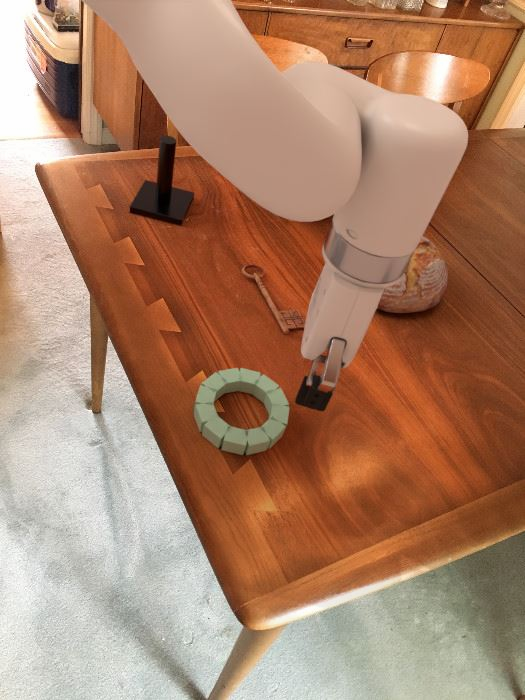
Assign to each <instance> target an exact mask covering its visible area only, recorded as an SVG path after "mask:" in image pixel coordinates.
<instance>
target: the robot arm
mask: <svg viewBox="0 0 525 700" xmlns="http://www.w3.org/2000/svg"><path fill="white" fill-rule="evenodd" d="M81 2H83V3H84V4H85V5H86V6H87V7H88V8H89V9H90V10H91V11H92V12H94V13H95V14H96V15H97V16H98V17H99V18H100V19H101V20H102V21H103V22H105V24H106V25H107V26H108V27H110V29H112V31H114V33H115V34H116V36H117V37H118V38H119V39H120V41H121V42H122V44H123V45H124V47H125V49H126V51H127V53H128V55H129V58H130V59H131V61H132V63H133V65H134V66H135V68H136V70H137V71H138V73H139V75H140V77H141V78H142V80H143V82H144V83H145V84H146V86H147V87H148V89H149V90H150V91H151V93H152V95H153V96H154V98H155V100H156V101H157V103H158V104H159V106H160V107H161V108H162V110H163V112H164V113H165V115H166V117H167V118H168V119H169V121H170V122H171V123H172V125H173V126H174V127H175V129H176V130H177V132H179V134H180V135H181V136H182V137H183V139H184V140H185V142H187V143H188V145H190V147H191V148H192V149H193V150H194V151H195V152H196V154H198V155H199V156H200V157H201V158H202V160H204V161H205V162H206V163H207V164H209V166H211V167H212V168H213V169H214V170H216V172H218V173H219V174H220V175H221V176H223V178H225V179H226V180H227V181H228V182H230V183H231V184H232V185H233V186H234V187H235V188H236V189H238V190H239V191H240V192H241V193H242V194H244V195H245V196H246V197H247V198H249V199H250V200H251V201H253V202H254V203H256V204H257V205H258V206H260V207H261V208H262V209H264V210H266V211H267V212H270V213H272V214H273V215H276V216H278V217H280V218H283V219H286V220H288V221H294V222H298V223H299V222H300V223H313V222H318V221H321V220H324V219H327V218H329V217H331V216H333V217H332V219H331V221H330V224H329V226H328V230H327V232H326V236H325V238H324V241H323V243H322V248H321V254H322V255H321V256H322V258H323V260H324V262H325V263H324V265H323V267H322V270H321V273H320V275H319V277H318V280H317V282H316V285H315V287H314V290H313V292H312V294H311V297H310V300H309V304H308V308H307V313H306V316H305V317H306V318H305V328H303V333H302V340H301V345H300V354H301V356H302V357H303V359H307V360H310V361H311V364H310V368H309V371H308V374H307V375H304V377H303V378H302V381H301V383H300V387H299V389H298V391H297V393H296V396H295V400H294V401H295V402H294V403H295V405H297V406H301V407H304V408H307V409H311V410H315V411H319V412H325V411H326V409H327V407H328V405H329V403H330V401H331V398H332V396H333V394H334V392H335V390H336V388H337V383H338V380H339V377H340V374H341V371H342V370H343V369H346V368H348V367H349V366H350V365H351V363H352V362H353V360H354V358H355V357H356V355H357V353H358V351H359V348H360V346H361V344H362V342H363V340H364V338H365V336H366V334H367V331H368V329H369V327H370V324H371V322H372V320H373V318H374V315H375V313H376V311H377V310H378V309H377V308H378V304H379V301H380V299H381V296H382V294H383V291H384V289H385V288H386V287H390V286H393V285H395V284H396V283H398V282H399V280H400V279H401V277H402V275H403V273H404V272H405V270H406V268H407V266H408V264H409V262H410V260H411V258H412V256H413V254H414V252H415V250H416V247H417V246H418V244H419V242H420V240H421V238H422V236H424V234H425V233H426V230H427V228H428V226H429V224H430V222H431V220H432V218H433V216H434V214H435V212H436V210H437V209H438V206H439V204H440V203H441V200H442V198H443V196H444V195H445V193H446V190H447V189H448V187H449V185H450V183H451V181H452V179H453V177H454V175H455V173H456V171H457V169H458V167H459V165H460V163H461V161H462V159H463V156H464V154H465V152H466V150H467V147H468V144H469V143H468V142H469V132H468V127H467V125H466V124H465V122H464V119H462V117H460V115H459V114H457V113H456V112H455V111H454V110H452V109H451V108H450V107H448V106H446V105H444V104H442V103H440V102H439V101H436V100H434V99H431V98H428V97H425V96H422V95H416V94H409V93H395V92H393V91H390V90H388V89H385V88H383V87H381V86H378V85H376V84H375V83H372V82H369V81H368V80H366V79H364V78H361V77H360V76H357V75H356V74H354V73H351V72H350V71H348V70H345V69H342V68H341V67H339V66H336V65H333V64H330V63H327V62H322V61H317V60H316V61H313V60H308V61H303V62H298V63H295V64H293V65H291V66H289V67H287V68H286V69H284V70H283V71H281V70H280V69H279V68H278V67H277V65H275V63H273V61H272V60H271V59H270V58H269V56H268V55H267V53H265V51H264V50H263V49H262V48H261V46H260V45H259V44H258V42H257V41H256V39H255V38H254V36H253V35H252V34H251V33H250V31H249V29H248V28H247V26H246V24H245V23H244V21H243V20H242V18H241V16H240V14H239V13H238V11H237V9H236V7H235V5H234V4H233V1H232V0H81ZM326 351H327V353H326V355H323V353H324V352H326ZM320 363H321V364H324V365H323V369H322V371H321V372H322V373H321V374H320V375H318V374H317V370H318V367H319V364H320Z"/></svg>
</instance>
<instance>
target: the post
mask: <svg viewBox="0 0 525 700" xmlns="http://www.w3.org/2000/svg"><path fill="white" fill-rule="evenodd" d="M158 146H159V147H158V156H157V158H158V159H157V173H156V181H151V180H148V179H144V181H143V183H142V184H141V186H140V188H139V190H138V192H137V194H136V195H135V197H134V198H133V200H132V201H131V204H130V205H129V213H130V214H134V215H138V216H143V217H145V218H150V219H154V220H158V221H161V222H165V223H169V224H174V225H176V226H182V225H183V223H184V221H185V220H186V217H187V214H188V212H189V210H190V207H191V205H192V203H193V201H194V199H195V192H194V191H190V190H187V189H182V188H178V187H174V186H173V180H174V169H175V161H176V160H175V158H176V149H177V139H176V138H175V137H173V136H170V135H162V136H160V137H159V145H158Z"/></svg>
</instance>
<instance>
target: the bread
mask: <svg viewBox="0 0 525 700" xmlns="http://www.w3.org/2000/svg"><path fill="white" fill-rule="evenodd" d="M447 266H448V265H447V263H446V260H445V258H444V257H443V255H442V254H441V252H440V249H438V248H437V246H435V244H434V243H433V242H432V241H431V240H430V239H428V238H427V237H425V236H424V235H423V236H422V238H421V240H420V242H419V244H418V246H417V247H416V250H415V252H414V254H413V256H412V258H411V260H410V262H409V264H408V266H407V268H406V270H405V272H404V273H403V275H402V277H401V279H400V280H399V282H398V283H396V284H395V285H393V286H390V287H386V288H385V289H384V291H383V294H382V296H381V299H380V301H379V304H378V308H377V309H376V310H380V311H383V312H386V313H393V314H411V313H421V312H425V311H427V310H430V309H433V308H435V307H436V306H437V305H439V304H440V303H441V301H442V299H443V296H444V294H445V292H446V290H447V286H448V280H449V279H448V278H449V275H448V274H449V273H448V267H447Z"/></svg>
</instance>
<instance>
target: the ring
mask: <svg viewBox="0 0 525 700" xmlns="http://www.w3.org/2000/svg"><path fill="white" fill-rule="evenodd" d="M198 387H199V388H198V391H197V394H196V397H195V401H194V406H193V411H192V412H193V417H194V421H195V423H196V426H197V429H198V431H199V433H201V436H202V437H203V438H205V439H206V440H207V441H208V442H209V443H210V444H212V445H213V446H214V447H215V448H217V449H219V448H220V450H221V451H223V452H227V453H231V454H236V455H238V456H239V455H240V456H244V454H245V456H249V455H250V456H251V455H254V454H257V453H263V452H266V451H267V450H270V449H271V448H272V447H273V446H274V445H275V444H277V442H278V441H280V439H282V437H283V435H284V433H285V431H286V429H287V426H288V423H289V417H290V416H289V415H290V403H289V400H288V399H287V396H286V395H285V393H284V390H283V389H282V387H280V385H279V384H278V383H276V382H275V381H274V380H273V379H271V378H270V377H269V376H267V375H266V374H264V373H263V374H262V375H261V372H260V371H256V370H251V369H248V368H244V367H240V369H239V368H238V367H233V368H227V369H222V370H218V371H215V372H213V373H212V374H211V375H210V376H208V377H207V378H206V379H205V380H204V381H202V382H201V384H200V385H199V386H198ZM234 392H240V393H245V394H249V395H252V396H254V398H256V399H257V400H259V401H260V402H261V403H263V405H264V408H265V410H266V412H267V413H268V418H267V420H266V421H265V422H264V423H263V424H262V425H261V426H258V427H254V428H249V429H244V428H239V427H235V426H233V425H232V426H231V424H228V423H227V422H226V421H225V420H224V419H222V418H221V417H220V416H219V414H218V411H217V410H216V407H215V405H214V404H215V402H216V401H217V400H218V399H220V398H221V397H222V396H223V395H224V394H228V393H234Z"/></svg>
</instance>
